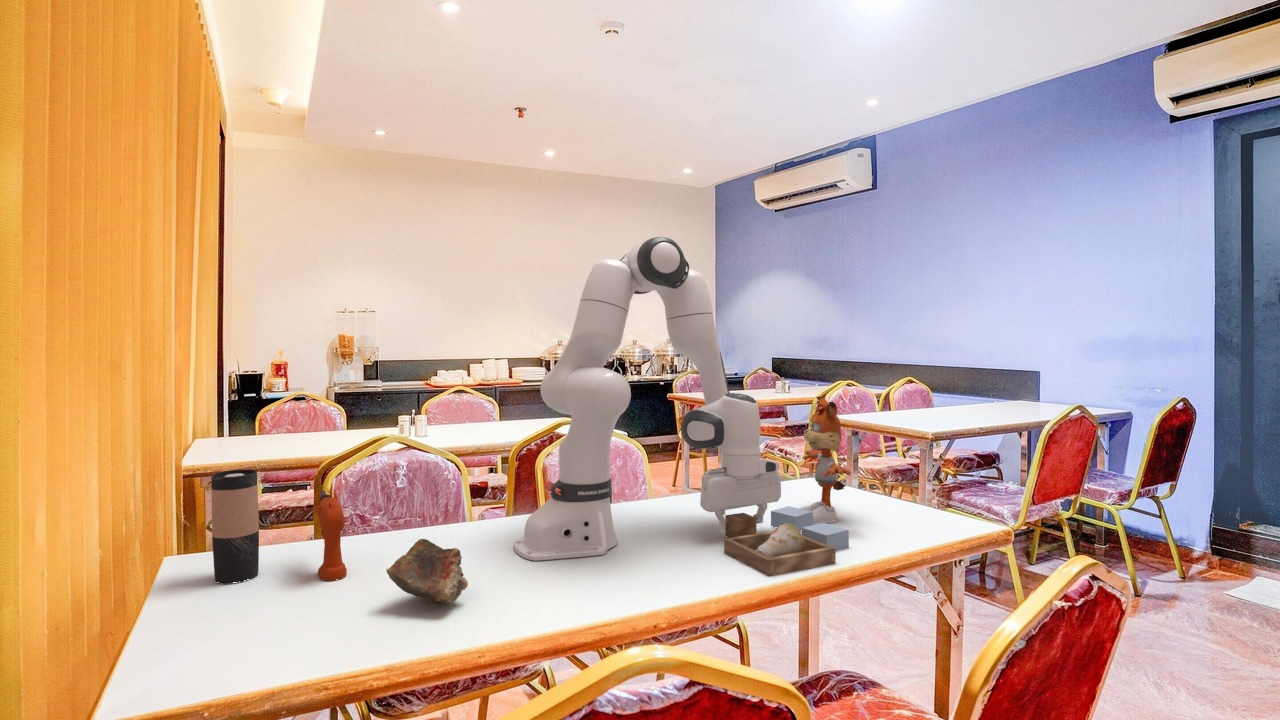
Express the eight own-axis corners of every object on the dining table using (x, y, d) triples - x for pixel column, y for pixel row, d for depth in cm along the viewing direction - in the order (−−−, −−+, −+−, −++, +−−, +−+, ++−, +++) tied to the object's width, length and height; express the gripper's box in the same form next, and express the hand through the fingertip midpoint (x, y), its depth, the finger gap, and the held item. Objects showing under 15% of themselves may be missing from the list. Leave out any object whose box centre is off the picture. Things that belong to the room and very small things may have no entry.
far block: (795, 533, 156) (795, 516, 155) (770, 527, 161) (770, 510, 161) (812, 528, 160) (812, 511, 160) (788, 522, 165) (788, 506, 165)
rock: (442, 585, 123) (441, 531, 123) (488, 600, 116) (487, 543, 116) (382, 607, 113) (381, 549, 113) (429, 625, 106) (428, 563, 106)
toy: (788, 504, 182) (788, 393, 181) (830, 504, 182) (830, 393, 181) (812, 536, 152) (812, 404, 151) (862, 537, 152) (863, 404, 151)
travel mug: (263, 568, 133) (260, 468, 132) (256, 581, 126) (253, 475, 125) (218, 573, 130) (215, 471, 129) (208, 587, 123) (206, 478, 122)
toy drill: (335, 544, 143) (335, 476, 141) (349, 582, 127) (349, 507, 125) (310, 548, 141) (309, 479, 139) (321, 587, 125) (320, 510, 123)
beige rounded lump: (745, 562, 136) (757, 514, 140) (783, 578, 139) (794, 531, 143) (767, 563, 130) (779, 514, 133) (806, 580, 133) (817, 531, 136)
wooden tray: (768, 576, 127) (768, 560, 127) (724, 552, 141) (724, 538, 141) (835, 563, 134) (835, 548, 134) (786, 542, 148) (786, 528, 148)
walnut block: (737, 542, 148) (737, 520, 148) (725, 536, 153) (725, 515, 153) (756, 539, 151) (756, 517, 150) (743, 534, 155) (743, 512, 155)
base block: (826, 554, 141) (826, 535, 141) (801, 545, 147) (801, 527, 147) (848, 548, 145) (848, 529, 145) (823, 540, 151) (823, 522, 150)
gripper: (709, 472, 144) (710, 536, 145) (785, 463, 154) (785, 522, 154) (694, 467, 150) (695, 528, 151) (767, 458, 159) (768, 516, 160)
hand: (741, 525), depth 152 cm, fingers open, 8 cm apart
